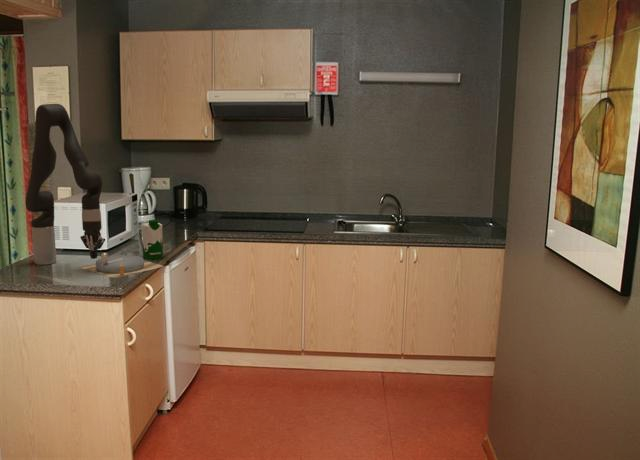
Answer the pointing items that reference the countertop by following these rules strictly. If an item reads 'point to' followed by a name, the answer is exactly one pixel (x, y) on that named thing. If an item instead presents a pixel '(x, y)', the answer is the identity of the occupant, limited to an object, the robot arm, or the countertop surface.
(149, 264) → the birch board
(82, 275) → the countertop surface
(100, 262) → the cam dial
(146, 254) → the milk carton
